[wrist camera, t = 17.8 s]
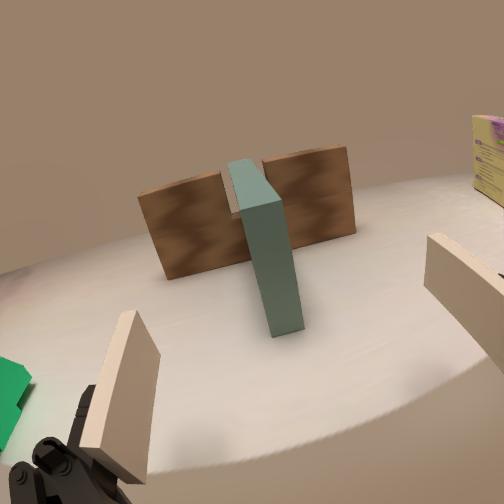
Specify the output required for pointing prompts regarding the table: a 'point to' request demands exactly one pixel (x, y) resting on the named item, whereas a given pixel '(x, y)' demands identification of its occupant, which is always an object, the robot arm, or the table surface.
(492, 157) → the box
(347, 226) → the notched brown wooden panel
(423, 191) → the table surface
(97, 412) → the robot arm
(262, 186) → the cross plate
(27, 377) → the camera mount
